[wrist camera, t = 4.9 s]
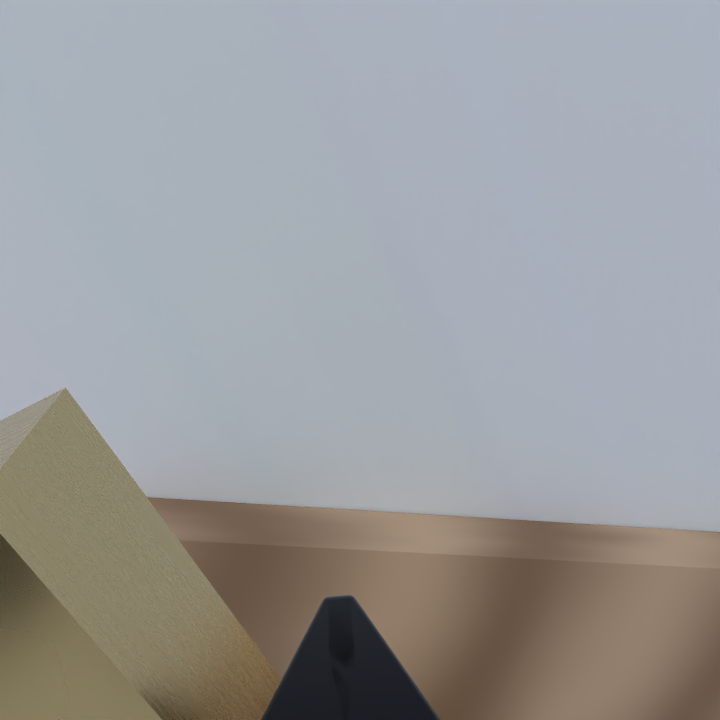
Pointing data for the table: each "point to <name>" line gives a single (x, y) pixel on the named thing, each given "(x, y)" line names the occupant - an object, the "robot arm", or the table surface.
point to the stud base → (482, 604)
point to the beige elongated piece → (106, 591)
